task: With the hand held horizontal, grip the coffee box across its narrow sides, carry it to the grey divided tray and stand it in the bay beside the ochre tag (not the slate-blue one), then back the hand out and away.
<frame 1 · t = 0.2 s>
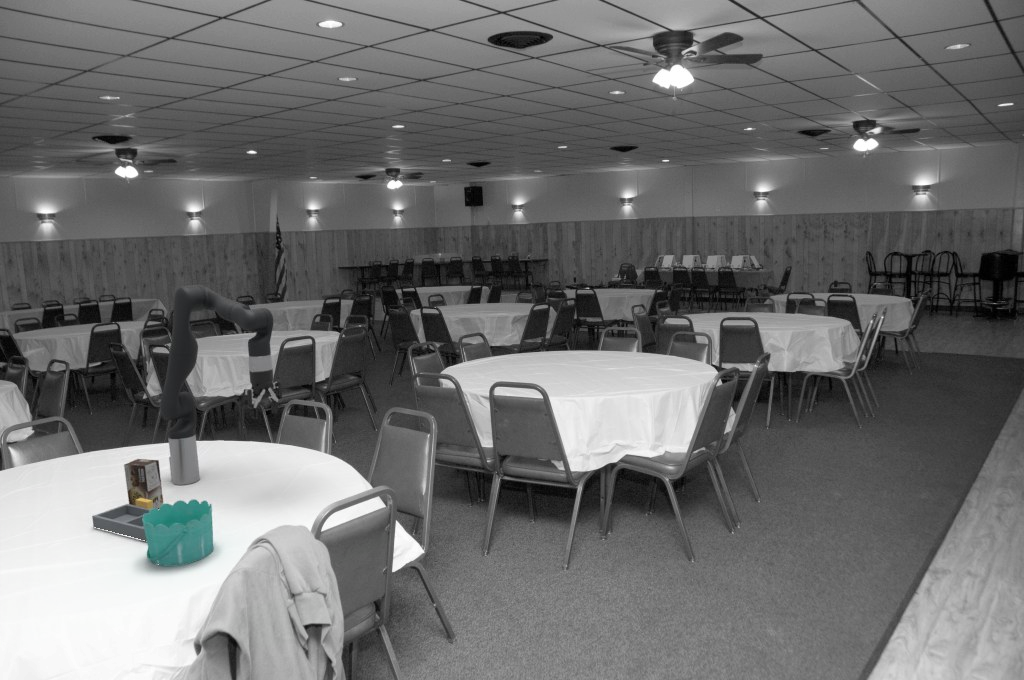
hand: (264, 415, 263), 29 cm above the table, tool pointing down, fingers open, 8 cm apart
grey divided tray: (126, 525, 248), on the table
basket: (182, 554, 224), on the table
coffee box: (146, 508, 263), on the table
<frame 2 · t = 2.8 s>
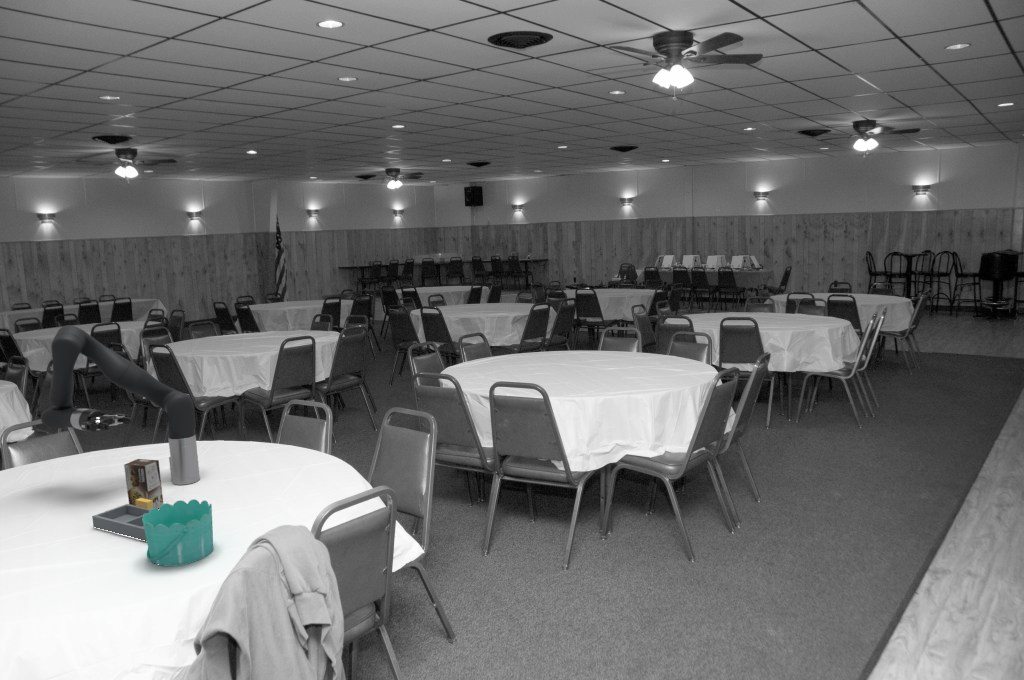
hand: (119, 424, 264), 28 cm above the table, tool horizontal, fingers open, 8 cm apart
nothing on the table moved.
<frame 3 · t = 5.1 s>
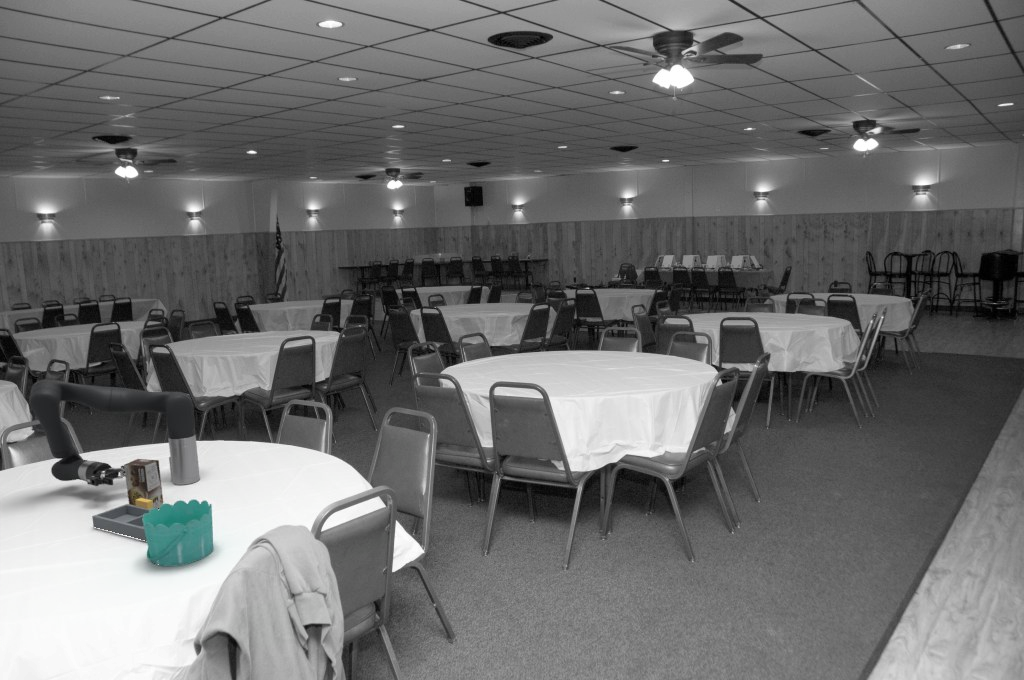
hand: (123, 478, 267), 9 cm above the table, tool horizontal, fingers open, 8 cm apart
nothing on the table moved.
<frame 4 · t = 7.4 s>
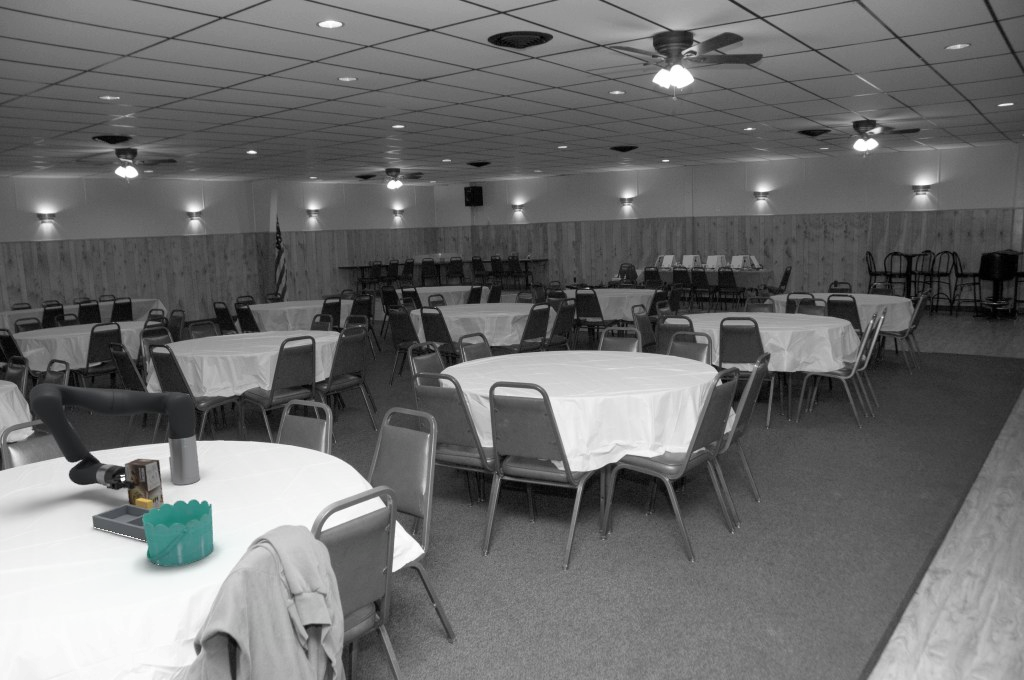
hand: (143, 482, 261), 9 cm above the table, tool horizontal, fingers closed on coffee box, 7 cm apart
coffee box: (146, 508, 263), on the table, touching gripper
everything else where it was.
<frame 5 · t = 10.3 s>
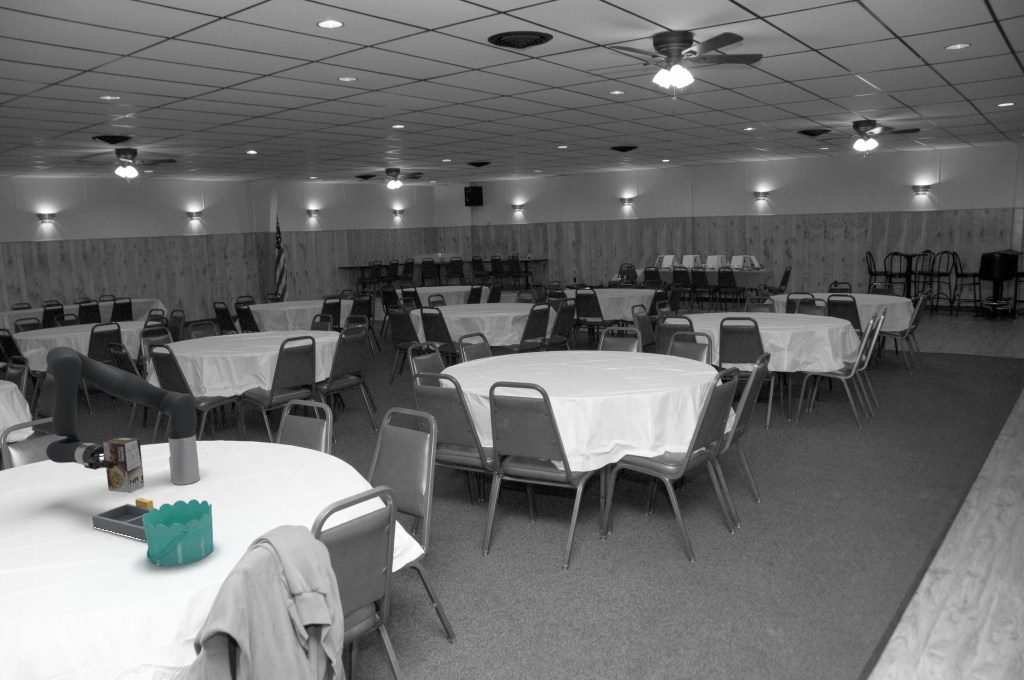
hand: (123, 461, 249), 20 cm above the table, tool horizontal, fingers closed on coffee box, 7 cm apart
coffee box: (126, 489, 250), point 10 cm above the table, touching gripper
everything else where it was.
when the fingers open (11 cm above the table, at t = 13.0 s): coffee box stays where it is, resting on grey divided tray.
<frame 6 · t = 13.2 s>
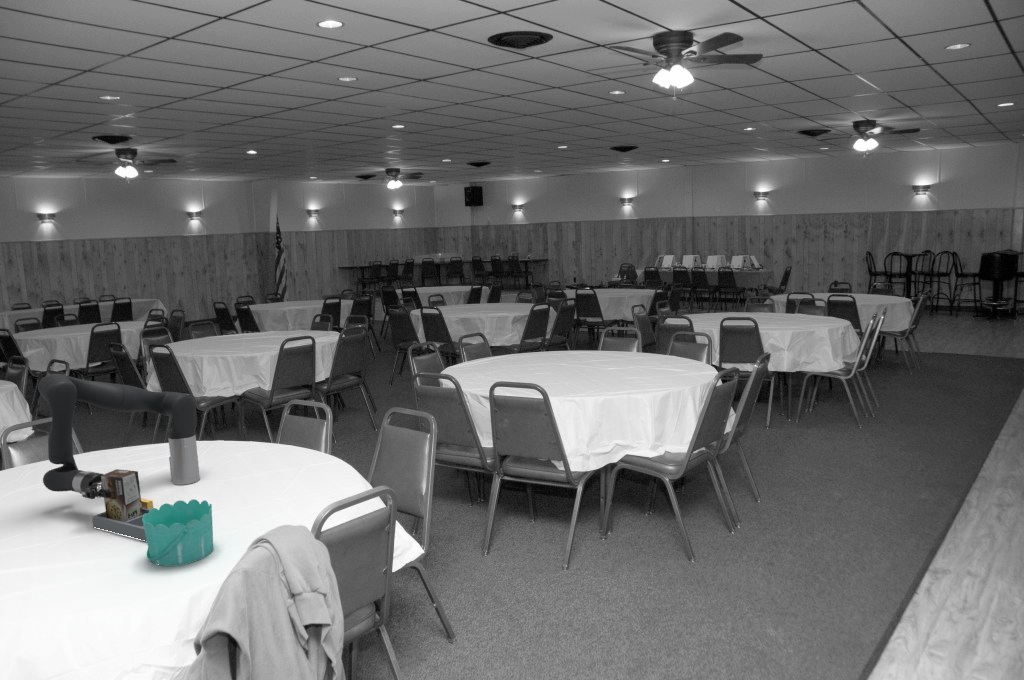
hand: (121, 490, 246), 11 cm above the table, tool horizontal, fingers open, 8 cm apart
coffee box: (125, 522, 248), point 1 cm above the table, touching grey divided tray
everything else where it was.
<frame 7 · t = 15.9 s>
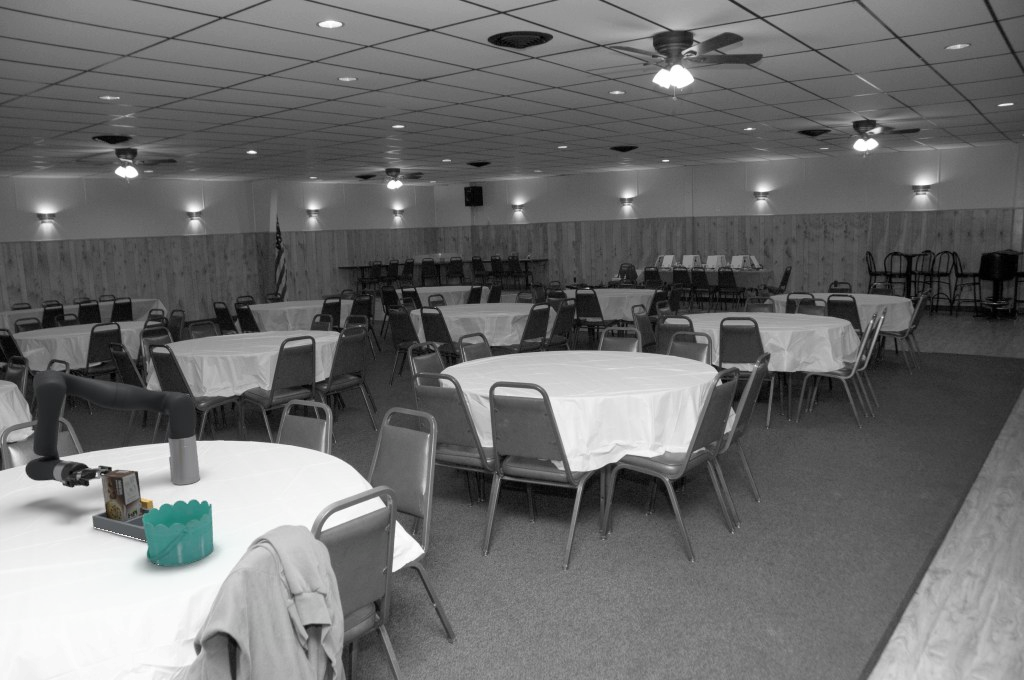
hand: (100, 478, 253), 13 cm above the table, tool horizontal, fingers open, 8 cm apart
nothing on the table moved.
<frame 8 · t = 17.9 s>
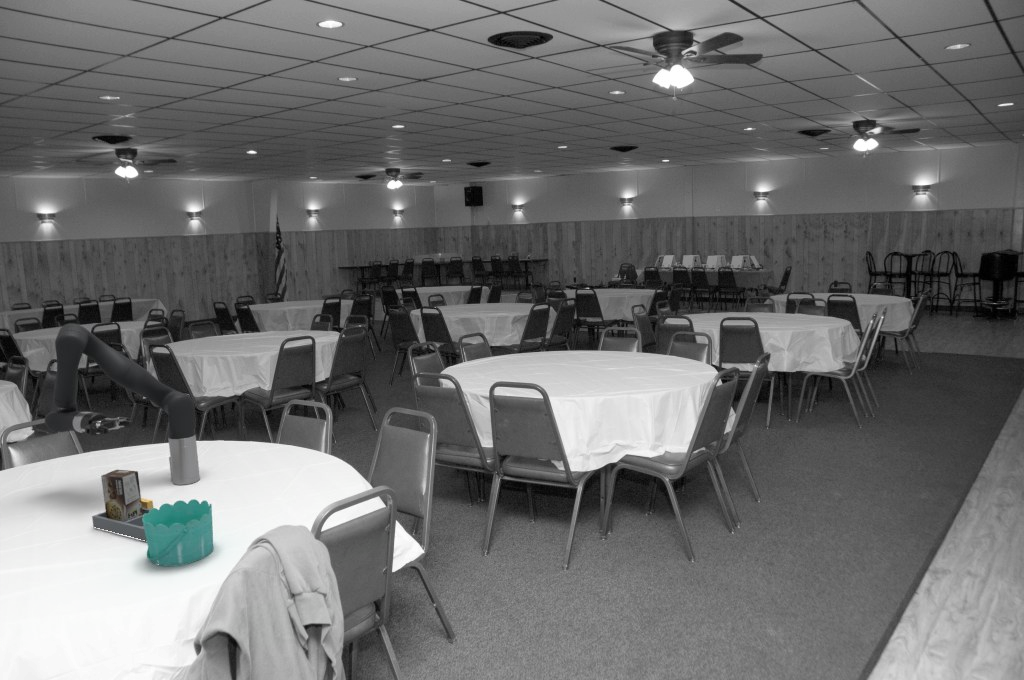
hand: (119, 427, 259), 28 cm above the table, tool horizontal, fingers open, 8 cm apart
nothing on the table moved.
at the end: coffee box inside the target area on the grey divided tray (0.3 cm from its centre), point 0.8 cm above the grey divided tray's base; coffee box tilted 0°; the gripper is holding nothing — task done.
